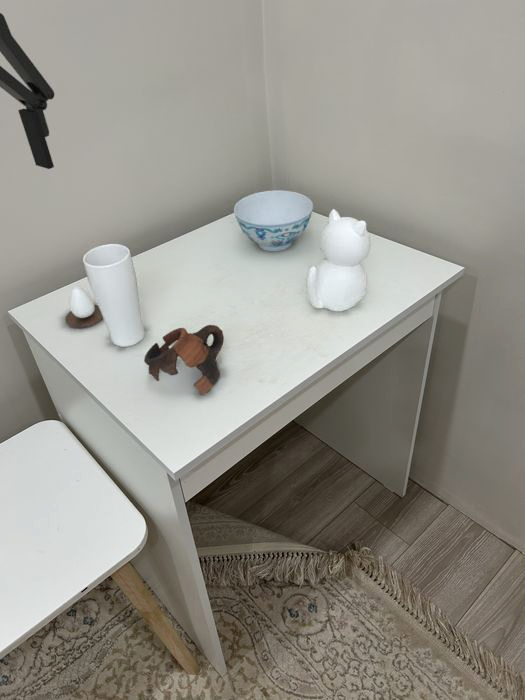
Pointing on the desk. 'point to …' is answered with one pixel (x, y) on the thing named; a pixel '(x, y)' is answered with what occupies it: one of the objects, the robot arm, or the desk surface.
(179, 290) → the desk surface
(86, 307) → the egg
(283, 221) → the chinaware
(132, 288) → the drinking glass
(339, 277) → the cat figurine
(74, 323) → the coaster
